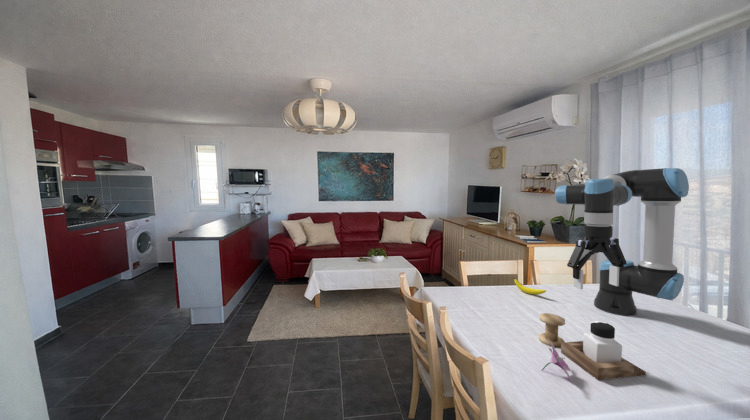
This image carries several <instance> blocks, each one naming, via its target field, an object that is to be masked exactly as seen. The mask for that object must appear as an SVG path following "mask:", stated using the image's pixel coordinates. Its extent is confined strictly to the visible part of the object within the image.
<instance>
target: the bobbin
mask: <svg viewBox="0 0 750 420" xmlns="http://www.w3.org/2000/svg"><path fill="white" fill-rule="evenodd" d="M538 318H539V320H540V321H541V322H542V323H545V325H544V326H545V333H540V334H539V335H538V339H539V341H540V342H541V343H542V344H543V345H546V346H549V347H550V348H552V346H551V343H550V341H551V342H552V344H553V346H554V348H561V343H564V342H565V340H564V339H563V338H562V337H560V336H559V327H562V326H563V327H564V326H565V324H566V319H565V318H564V317H562V316H560V315H558V314H554V313H549V312H545V313H543V312H542V313H540V314H539V317H538ZM547 337H548V338H549V339H550V341H549V340H548V338H547Z"/></svg>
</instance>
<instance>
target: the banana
mask: <svg viewBox="0 0 750 420" xmlns="http://www.w3.org/2000/svg"><path fill="white" fill-rule="evenodd" d="M512 279H513V281H514V284H515V286H516V287H517V289H519V290H520V291H521V292H523V293H525V294H529V295H542V294H545V293H546V292H547V290H546V289H538V288H531V287H528V286H525V285H523V284H522V283H521V282H520V281H519V280H517V278H515V277H513V278H512Z"/></svg>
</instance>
